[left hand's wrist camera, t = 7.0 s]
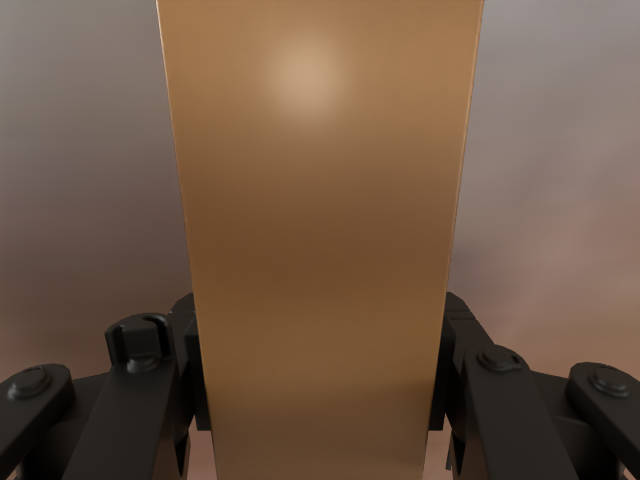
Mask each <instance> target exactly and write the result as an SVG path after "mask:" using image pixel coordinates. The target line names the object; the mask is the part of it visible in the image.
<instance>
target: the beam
mask: <svg viewBox="0 0 640 480" xmlns="http://www.w3.org/2000/svg"><path fill="white" fill-rule="evenodd" d="M483 5H484V0H156V7H157V15H158V23H159V30H160V38H161V46H162V54H163V61H164V69H165V77H166V85H167V93H168V100H169V108H170V116H171V124H172V131H173V139H174V147H175V155H176V162H177V170H178V178H179V186H180V193H181V201H182V209H183V217H184V225H185V232H186V240H187V248H188V256H189V263H190V271H191V279H192V287H193V294H194V302H195V310H196V318H197V325H198V333H199V341H200V349H201V357H202V364H203V372H204V380H205V388H206V395H207V403H208V411H209V419H210V426H211V434H212V442H213V450H214V457H215V465H216V473H217V480H422V476H423V469H424V461H425V453H426V445H427V438H428V430H429V422H430V415H431V407H432V399H433V391H434V384H435V376H436V368H437V361H438V353H439V345H440V337H441V330H442V322H443V314H444V306H445V299H446V291H447V283H448V276H449V268H450V260H451V252H452V245H453V237H454V229H455V222H456V214H457V206H458V198H459V191H460V183H461V175H462V167H463V160H464V152H465V144H466V137H467V129H468V121H469V113H470V106H471V98H472V90H473V83H474V75H475V67H476V59H477V52H478V44H479V36H480V29H481V21H482V13H483Z"/></svg>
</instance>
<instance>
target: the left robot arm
mask: <svg viewBox="0 0 640 480" xmlns="http://www.w3.org/2000/svg"><path fill="white" fill-rule="evenodd" d="M104 334H105V338H106V342H107V346H108V351H109V355H110V359H111V364H112V367H111V369H110V371H109V372H107V373H103V374H100V375H95V376H90V377H85V378H80V379H75V380H72V378H71V374H70V371H69V369H68V368H66V367H65V366H64V365H59V364H46V365H39V366H34V367H31V368H28V369H25V370H23V371H21V372H19V373H17V374H15V375H13V376H11V377H9V378H8V379H7V380H5V381H4V382H2V383H1V384H0V480H6V479H7V478H8V477H9V475H10V474H11V473H12V472H13V471H14V469H15V471H16V473H17V476H16V477H15V479H14V480H187V473H188V465H189V456H190V447H191V444H190V437H189V431H188V429H189V426H190V424H191V421H192V419H193V416H194V414H195V419H196V425H197V431H211V426H210V419H209V411H208V403H207V395H206V388H205V380H204V372H203V364H202V357H201V349H200V341H199V333H198V325H197V318H196V310H195V302H194V294H193V293H189V294H188V295H186V296H185V297H183V298H182V299H180V300H179V301H177V302H176V304H175V305H174V307H173V308H172V309H171V311H170V313H168V315H167V316H166V315H163V314H159V313H143V314H138V315H133V316H130V317H127V318H125V319H122V320H120V321H118V322H117V323H115V324H113V325H112V326H110V327H109V329H108V330H107V331H106V332H105V333H104ZM445 413H446V415H447V418H448V420H449V423H450V425H451V428H452V431H451V437H450V444H449V450H448V456H447V463H446V470H451V465H452V473H453V480H628V479H627V478H626V477H625V475H624V474H623V472H624V470H625V467H626V468H627V469H628V471H629V472H630V473H631V474H632V475H633V476H634V478H635V479H636V480H640V382H639V381H638V380H636V379H635V378H633V377H632V376H630V375H629V374H627V373H625V372H623V371H620V370H618V369H617V368H615V367H612V366H609V365H608V366H607V365H605V364H600V363H592V362H583V363H577V364H575V365H574V366H573V367H572V368H571V370H570V373H569V377H568V378H563V377H558V376H553V375H548V374H543V373H539V372H535V371H532V370H530V368H529V366H528V364H527V363H526V362H525V360H524V359H523V358H522V357H521V356H519V355H518V354H517V353H515V352H514V351H512V350H510V349H508V348H505V347H503V346H500V345H495V344H494V343H493V341H492V340H491V339H490V337H489V336H488V334H487V333H486V332H485V330H484V329H483V327H482V326H481V325H480V323H479V322H478V321H477V320H476V318H475V316H474V315H473V314H472V312H470V309H469V308H468V307H467V305H466V304H465V303H464V301H463V300H462V299H460V298H459V297H457V296H456V295H454V294H453V293H451V292H446V299H445V306H444V314H443V322H442V330H441V337H440V345H439V353H438V361H437V368H436V376H435V384H434V391H433V399H432V407H431V415H430V422H429V430H428V431H443V424H444V417H445Z"/></svg>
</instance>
